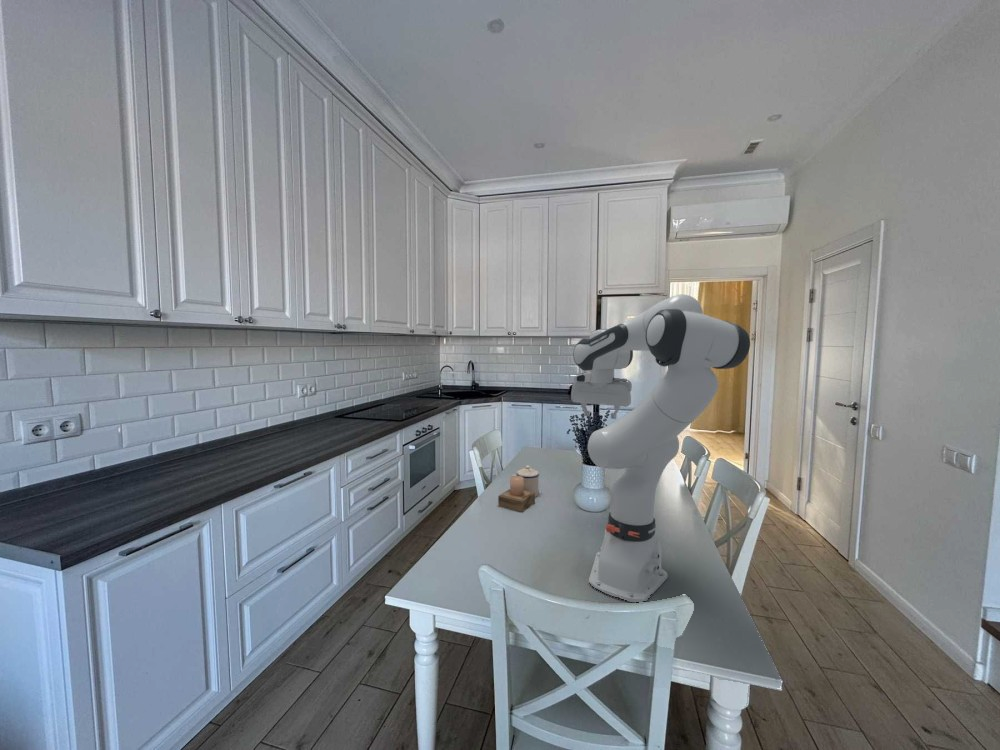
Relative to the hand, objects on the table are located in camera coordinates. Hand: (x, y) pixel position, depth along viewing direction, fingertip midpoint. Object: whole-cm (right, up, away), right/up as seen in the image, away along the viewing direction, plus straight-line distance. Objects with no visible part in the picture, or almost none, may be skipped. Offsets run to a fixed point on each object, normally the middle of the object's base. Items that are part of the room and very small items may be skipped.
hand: (599, 417), depth 135 cm
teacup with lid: (-25, -34, +24) cm, 48 cm away
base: (-28, -34, +13) cm, 46 cm away
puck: (-28, -30, +12) cm, 43 cm away
